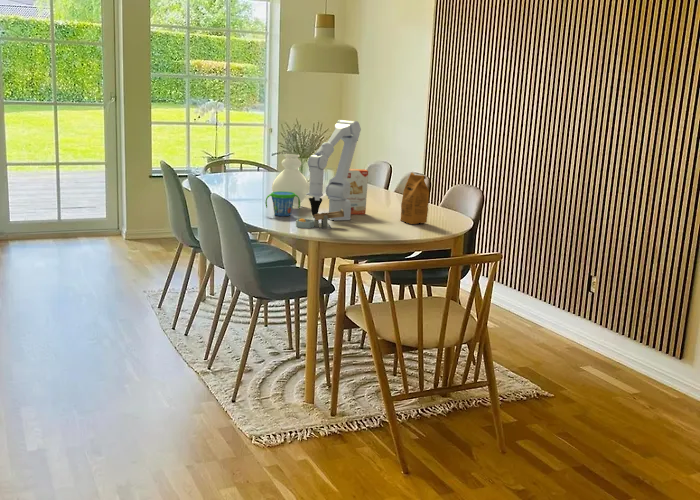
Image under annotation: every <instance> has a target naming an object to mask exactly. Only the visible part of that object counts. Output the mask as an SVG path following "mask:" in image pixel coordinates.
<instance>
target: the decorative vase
mask: <svg viewBox="0 0 700 500" xmlns="http://www.w3.org/2000/svg"><path fill="white" fill-rule="evenodd" d="M283 157H285V158H283V159H282V161H281V163H280V164H281V166H282V167H283V168H284V169H283V170H282V171H281V172H279V174H278V175H276V177H275V179H273V182H272V185H271V191H272V192H277V191H286V192H293V193H295V194H296V195H297V196H298V197H299V199H300V207H299V208H300V209H303V208H304V205H303V204H301V203H302V202H303V200H304V199H306V197H307V196H308V195H306V193H309V184H310V183H309V182H308V180H307V179H306V176H305V175H304V174H303V173H302V172H301V170H299V168H300V167H301V166H302V161H301V160H300V159H299V158H300V154H295V153H285V154H284V153H283ZM298 197H296V196H295V197H294V200H293V206H292V210H297V209H298V210H299V208H298Z"/></svg>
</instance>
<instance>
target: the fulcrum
mask: <svg viewBox="0 0 700 500" xmlns="http://www.w3.org/2000/svg"><path fill="white" fill-rule="evenodd" d="M313 220H314V226H315V227H314V228H319V229H320V228H331V229H332V226H331V225H330V223H328V221H329V219H328V216H324V219H322V220H321V221H320V220H316V219H315V218H313ZM319 221H320V222H319Z"/></svg>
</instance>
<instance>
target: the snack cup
mask: <svg viewBox="0 0 700 500" xmlns="http://www.w3.org/2000/svg"><path fill="white" fill-rule="evenodd" d="M295 196H296V197H298V196H297V195H296V194H295V193H293V192H286V191H277V192H273V191H272V192H270V194H268V195H267V196H266V198H265V202H264V203H265V207H266V209H268V198H270V197H271V200H272V205H273V206H272V207H273V214H274V215H275V216H277V217H288V216H290V215H291V216H292V210H293V209H292V206H293V200H294V197H295ZM300 205H301V203H300V199H299V197H298V208H299V207H300Z"/></svg>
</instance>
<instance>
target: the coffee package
mask: <svg viewBox="0 0 700 500" xmlns="http://www.w3.org/2000/svg"><path fill="white" fill-rule="evenodd" d="M426 178H427V177H426V176H425V175H424V174H423V175H421V174H419V175H418V174H415V173H414V172H411V173H410V174H409V176H408V179H407V181H406V183H405V186H404V189H403V192H402V193H403V194H402V198H401V203H400V204H401V205H400V208H401V209H400V221H401V222H404V223H405V222H406V223H405V224H407V223H409V224H408V225H412V224H414V225H417V224H418V225H419V223H420V224H425V223H427V222H428V213H429V208H428V206H429V198H430V197H429V195H430V190H429V187H428V186H427V184H426V181H425V179H426Z"/></svg>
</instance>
